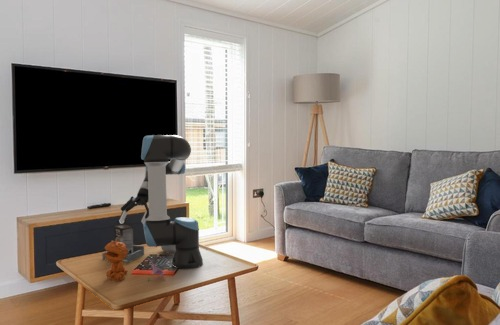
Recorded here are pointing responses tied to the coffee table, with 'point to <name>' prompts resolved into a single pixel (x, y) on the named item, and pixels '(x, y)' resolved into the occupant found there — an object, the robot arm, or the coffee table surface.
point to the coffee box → (124, 236)
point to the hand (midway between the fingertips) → (131, 222)
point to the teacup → (168, 248)
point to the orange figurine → (116, 260)
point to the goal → (137, 253)
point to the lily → (156, 270)
